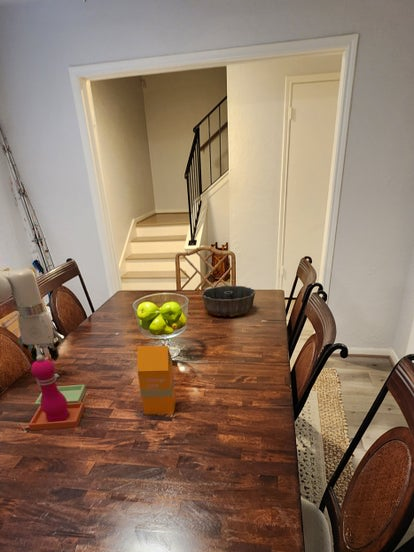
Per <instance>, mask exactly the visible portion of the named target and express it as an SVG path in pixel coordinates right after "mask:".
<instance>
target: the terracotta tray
mask: <svg viewBox="0 0 414 552" xmlns="http://www.w3.org/2000/svg"><path fill="white" fill-rule="evenodd" d="M66 408H67V409H68V412H69V416H68V418H67V419H66V420H64V421H59V422H48V421H47V418H46V413H44V412H43V411H42V409H41V406H39V408H38V409H36V411H35V413H34V415H33V416H32V418H31V420H30V421H29V423H28V428H29V430H30V431H43V430H44V431H45V430H56V429H68V428H78V426H79V425H80V421H81V419H82V416H83V415H84V411H85V409H86V407H85V403H84V402H83V401H81V403H68V405H67V407H66Z"/></svg>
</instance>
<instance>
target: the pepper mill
mask: <svg viewBox="0 0 414 552" xmlns="http://www.w3.org/2000/svg"><path fill="white" fill-rule="evenodd" d="M36 359H37V361H34V362H33V363H32V364H31V368H30V371H31V374H32V375H33V377H35V378H36V379H35V381H36V383H37V385H39V387H40V390H41V393H42V396H41V409H42V411H43V412H44V413H46V418H47V421H48V422H59V421H64V420H66V419H67V418H68V416H69V412H68V409H67V408H66V407H67V405H68V403H67V400H66V398H65V396H64V395H63V394H62V393H61V392H60V391H59V390H58V388H57V387H58V386H57V383H56V381H57V378H56V377H55V374H56V373H55V372H56V365H55V364H54V362H53V361H52V362H51V361H50V360H47V359H44V358H43V356H42V355H38V356H37V357H36Z"/></svg>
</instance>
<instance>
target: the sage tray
mask: <svg viewBox="0 0 414 552" xmlns="http://www.w3.org/2000/svg"><path fill="white" fill-rule="evenodd" d="M57 388H58V390H59V391H60V392H61V393H62V394H63V395H64V396H65V398H66V400H67V403H82V402H83V401H82V400H83V398H84V396H85V393H86V391H87V388H86V385H85V384H74V385H73V384H72V385H60V386H59V385H58V386H57ZM41 396H42V392H41V393H40V394H39V396H38V397H37V399H36V401H35V402H34V407H35V409H36V410H38V408H39V406H41Z"/></svg>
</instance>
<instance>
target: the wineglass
mask: <svg viewBox="0 0 414 552" xmlns="http://www.w3.org/2000/svg"><path fill="white" fill-rule="evenodd" d="M51 350H52V348H51V347H50V346H49V344H37V345H35V351H36V357H37V356H38V355H42V356H43V358H44V359H47V360H50V361H51V362H52V363H53V361H54V360H53V357H52V353H51ZM54 374H55V377H56V379H57V378H58V377H59V374H58V373H54Z"/></svg>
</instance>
